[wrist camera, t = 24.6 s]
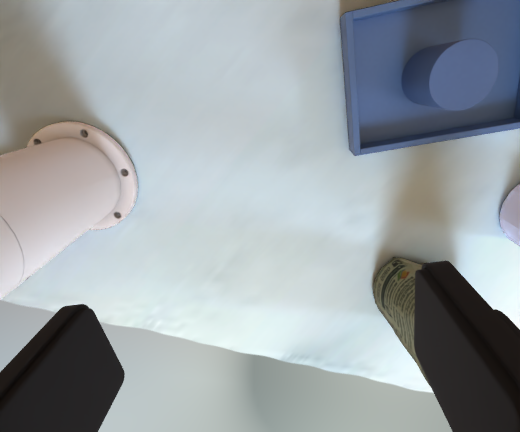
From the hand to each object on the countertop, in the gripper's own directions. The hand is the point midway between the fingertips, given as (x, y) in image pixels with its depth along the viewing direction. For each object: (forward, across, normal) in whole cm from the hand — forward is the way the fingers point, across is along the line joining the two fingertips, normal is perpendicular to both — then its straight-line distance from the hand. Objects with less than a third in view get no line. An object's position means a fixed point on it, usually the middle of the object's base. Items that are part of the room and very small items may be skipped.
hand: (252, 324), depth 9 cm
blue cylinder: (+26, -16, -4) cm, 30 cm away
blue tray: (+26, -16, -4) cm, 31 cm away
